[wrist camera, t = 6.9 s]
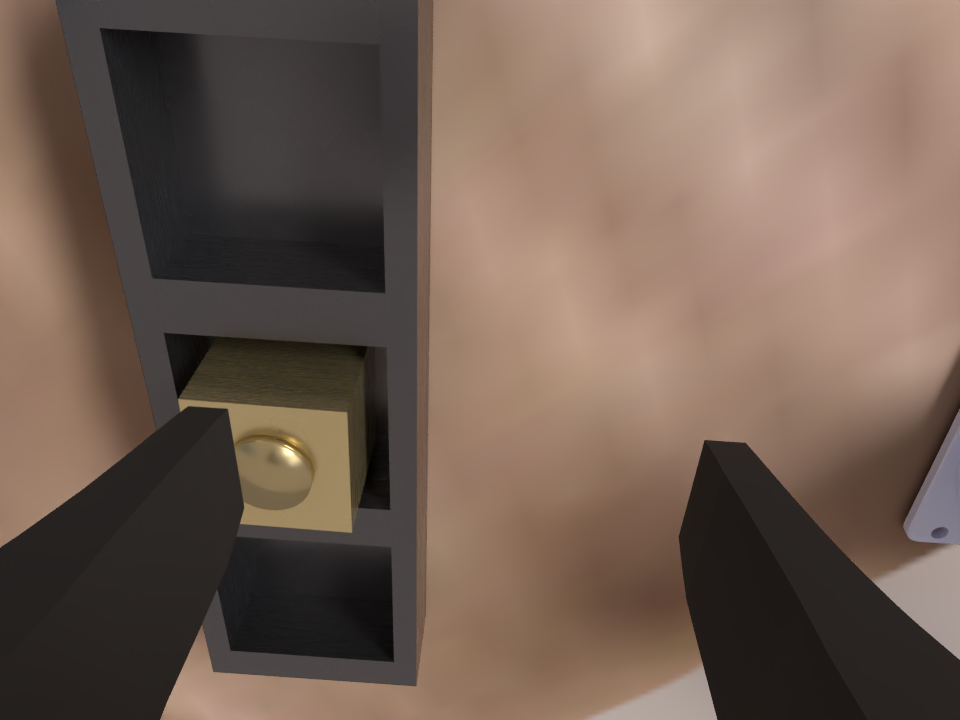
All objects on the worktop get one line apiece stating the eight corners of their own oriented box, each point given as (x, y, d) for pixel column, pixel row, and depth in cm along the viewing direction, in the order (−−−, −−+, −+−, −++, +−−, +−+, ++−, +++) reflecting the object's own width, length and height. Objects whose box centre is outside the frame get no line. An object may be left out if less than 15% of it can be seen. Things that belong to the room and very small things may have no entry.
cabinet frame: (433, -43, 17) (418, -24, 14) (425, 614, 29) (416, 685, 26) (115, -61, 17) (44, -46, 14) (240, 601, 29) (213, 672, 27)
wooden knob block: (374, 325, 22) (344, 420, 18) (376, 436, 24) (349, 541, 20) (231, 314, 22) (173, 406, 18) (246, 426, 24) (197, 529, 20)
